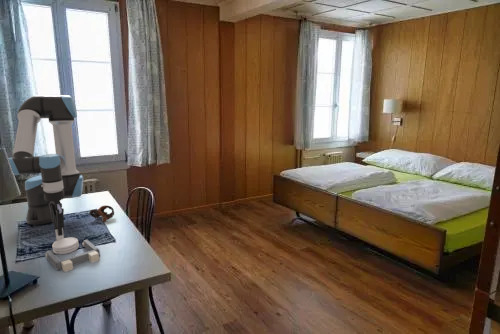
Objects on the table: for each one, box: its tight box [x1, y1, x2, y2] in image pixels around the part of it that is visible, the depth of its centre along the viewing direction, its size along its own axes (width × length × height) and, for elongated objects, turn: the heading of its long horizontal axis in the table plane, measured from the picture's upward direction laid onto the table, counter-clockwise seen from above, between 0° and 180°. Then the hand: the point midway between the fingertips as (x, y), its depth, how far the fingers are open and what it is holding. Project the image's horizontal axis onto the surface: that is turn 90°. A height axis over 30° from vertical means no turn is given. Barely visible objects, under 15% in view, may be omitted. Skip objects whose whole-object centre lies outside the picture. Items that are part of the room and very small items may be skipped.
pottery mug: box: [89, 205, 115, 223], centre depth 178 cm, size 12×10×8 cm
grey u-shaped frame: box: [45, 239, 101, 273], centre depth 138 cm, size 18×16×3 cm
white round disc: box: [51, 236, 80, 255], centre depth 145 cm, size 10×10×4 cm
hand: (60, 241), depth 149 cm, fingers closed
